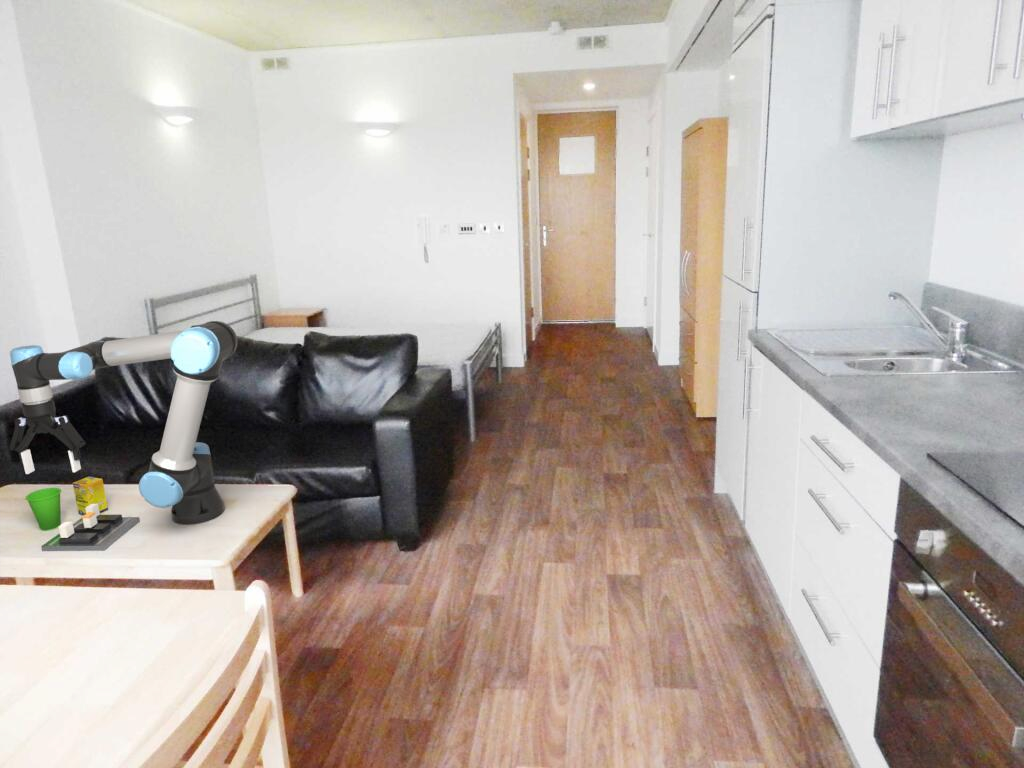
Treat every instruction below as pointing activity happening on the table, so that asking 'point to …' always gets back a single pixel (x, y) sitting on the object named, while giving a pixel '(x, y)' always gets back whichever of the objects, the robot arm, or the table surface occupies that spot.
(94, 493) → the supplement box
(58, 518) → the cup
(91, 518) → the handle
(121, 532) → the panel
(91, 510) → the handle
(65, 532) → the handle
